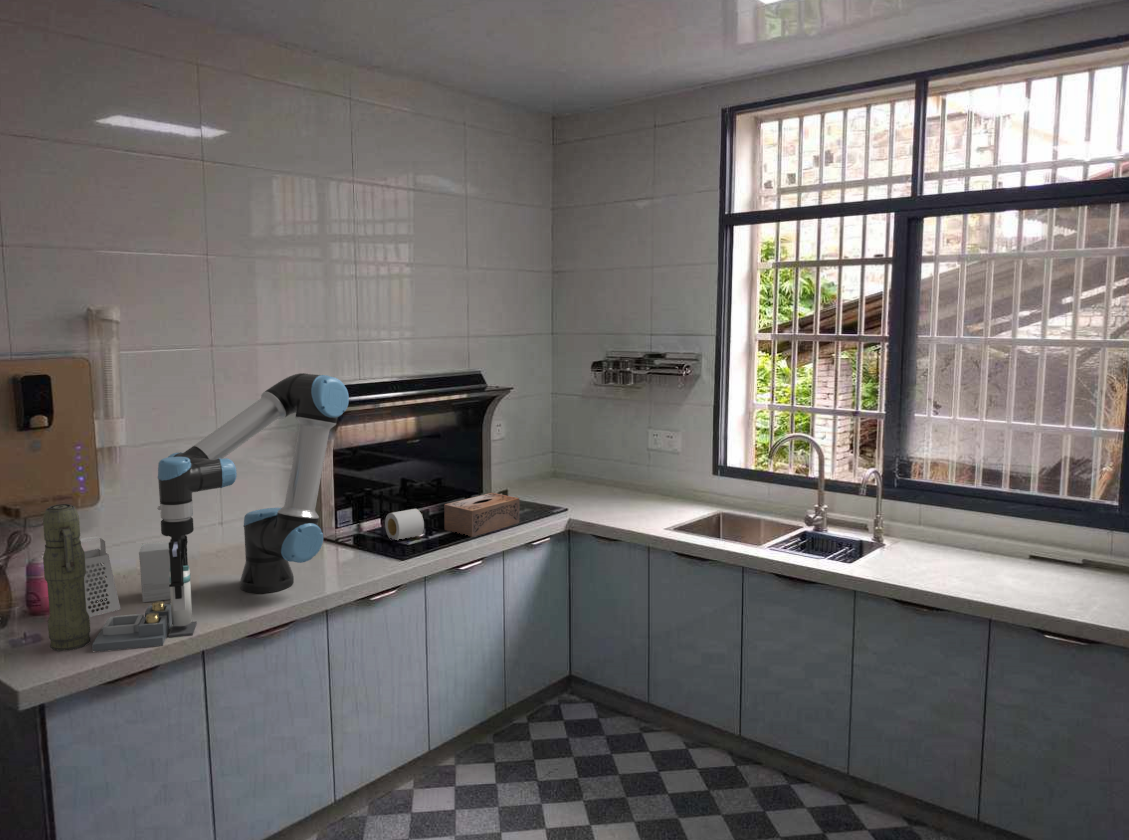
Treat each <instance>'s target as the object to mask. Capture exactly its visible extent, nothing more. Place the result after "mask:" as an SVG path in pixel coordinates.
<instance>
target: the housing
mask: <svg viewBox="0 0 1129 840" xmlns="http://www.w3.org/2000/svg"><path fill="white" fill-rule="evenodd" d="M150 613H158V614H159V623H149V624H147V622H146V615H147V614H150ZM172 626H173V625H172V615H171V603H168V604H167V603H166V604H165V603H164V611H152V605H148V606H147V608H146V610H145V612H144V613H143V614H140V613H135V614H126V615H124V614H123V615H115V616H110V617H108V618H107V619H106V621H105V622H104V624H103V626H102V628H101V630H100V631H99V632H98V634H97V636H96V637H95V639H94V640H93V642H92V645H91V646H92V652H93V651H100V652H109V651H108V650H111V651H119V650H118V649H121V650H128V649H127V648H131V649H140V648H151V647H152V648H153V647H160V646H161V647H162V646H164V644H165V642H166V640H165V639H167V637H168V636H169V633H170V631H171V628H172ZM139 647H140V648H139Z"/></svg>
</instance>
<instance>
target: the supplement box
mask: <svg viewBox="0 0 1129 840" xmlns="http://www.w3.org/2000/svg"><path fill="white" fill-rule="evenodd" d="M169 542H170V540H169V541H160V542H159V541H158V542H157V541H156V542H147V543H141V546H140V549H139V552H138V556H139V557H138V559H139V570H140V583H141V594H142V595H141V596H142V597H141V598H142V603H152V602H157V601H167V600H168V601H169V600H171V596H170V587H169V585H170V581H169V571H170V556H169Z"/></svg>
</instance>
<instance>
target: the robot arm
mask: <svg viewBox="0 0 1129 840" xmlns="http://www.w3.org/2000/svg"><path fill="white" fill-rule="evenodd" d="M349 396H350V395H349V391H348V389H347V387H346V386H345V383H344V382H343V381H342V380H340V379H339V378H337V377H334V376H330V375H326V374H325V375H323V374H313V373H312V374H311V373H306V372H305V373H296V374H292V375H290V376H287V377H286V378H283V379H282V380H279V381H278V382H277V383H275V384H273V385H272V386H270V387H269V388H268V389H265V390H264V391H263V392H262V393H261V395H260V398H259V399H258V400H257V401H256V402H254V403H253V404H251V405H249V406H248V407H247V408H245V409H244V410H242V411H241V412H239V413H238V414H237V415H236V416H234V417H233V418H231V419H230V420H228V421H227V422H225V423H224V424H223V425H221V426H220V427H218V428H217V429H216V430H214V431H213V432H211V433H210V434H208V435H207V436H205V437H204V438H203V439H201V440H200V441H198V442H197V443H196V444H194V445H192V446H191V447H190V448H188V449H187V450H185V451H184V452H174V453H171V454H170V455H168V456H167V457H164V458H162V459H160V460H159V462H158V463H157V464H158V465H157V466H158V467H157V480H158V493H159V494H158V496H159V505H158V506H157V510H159V511H160V512H159V513H160V518H161V521H160V533H161V535H162V536H164V537H170V539H169V541H170V542H169V556H170V571H171V584H170V585H169V587H173V604H174V611H178V610H186V603H185V584H184V582H183V566H187V565H189V562H188V560H189V559H188V535H190V534H192V533H193V532H194V529H195V528H194V518H193V515H194V506H193V505H194V504H193V493H197V492H198V493H199V492H202V491H208V490H214V489H215V490H216V489H223V488H225V487H230V486H232V485H233V484H234V483H235V482H236V480H237V477H238V476H237V475H238V474H237V468H236V465H235V463H234V461H233V460H232V459H230V458H228V457H227V456H228V455H230V453H232V452H234V451H235V450H237V449H238V448H239V447H241V446H242V445H243V444H245V443H247V442H248V441H249V440H250V439H252V438H253V437H254V436H256V435H258V434H259V433H260V432H262V431H263V430H264V429H266V428H267V427H268V426H270V425H271V424H273V423H275V421H276V420H285V418H286V417H288V416H290V415H292V414H295V419H296V420H297V422H298V424H299V426H298V431H297V438H296V443H295V447H294V453H293V457H292V464H291V468H290V469H291V470H290V474H289V479H288V485H287V489H286V495H285V500H284V505H283V507H268V508H261V509H255V510H252V511H249V512H247V513H245V515H244V517H243V532H244V533H243V534H244V535H243V536H244V551H245V552H244V554H245V563H244V566H243V569H242V573H241V577H240V583H239V585H240V589H241V591H244V592H248V593H254V594H255V593H256V594H265V593H273V592H274V593H275V592H279V591H282V590H286V589H288V588H290V587H291V586H293V585H294V582H295V579H294V572H293V570H292V568H291V565H290V562H291V563H306V562H308V561H311V560H312V559H313V558H314V557H316V555H317V554H319V552H320V550H321V549H322V547H323V543H324V533H323V532H322V529H321V528H320V526H319V525H318V524H319V520H320V516H319V515H318V513H317V511H316V506H317V499H318V495H319V490H320V484H321V479H322V474H323V468H324V462H325V457H326V451H327V447H328V442H329V441H328V440H329V436H330V430H331V429H332V428H333V427H336V425H337V421H338V418H339V417H340V416H342V415H343V413H345V412H346V410H347V409H348V407H349V402H350V401H349V400H350V397H349Z"/></svg>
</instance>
